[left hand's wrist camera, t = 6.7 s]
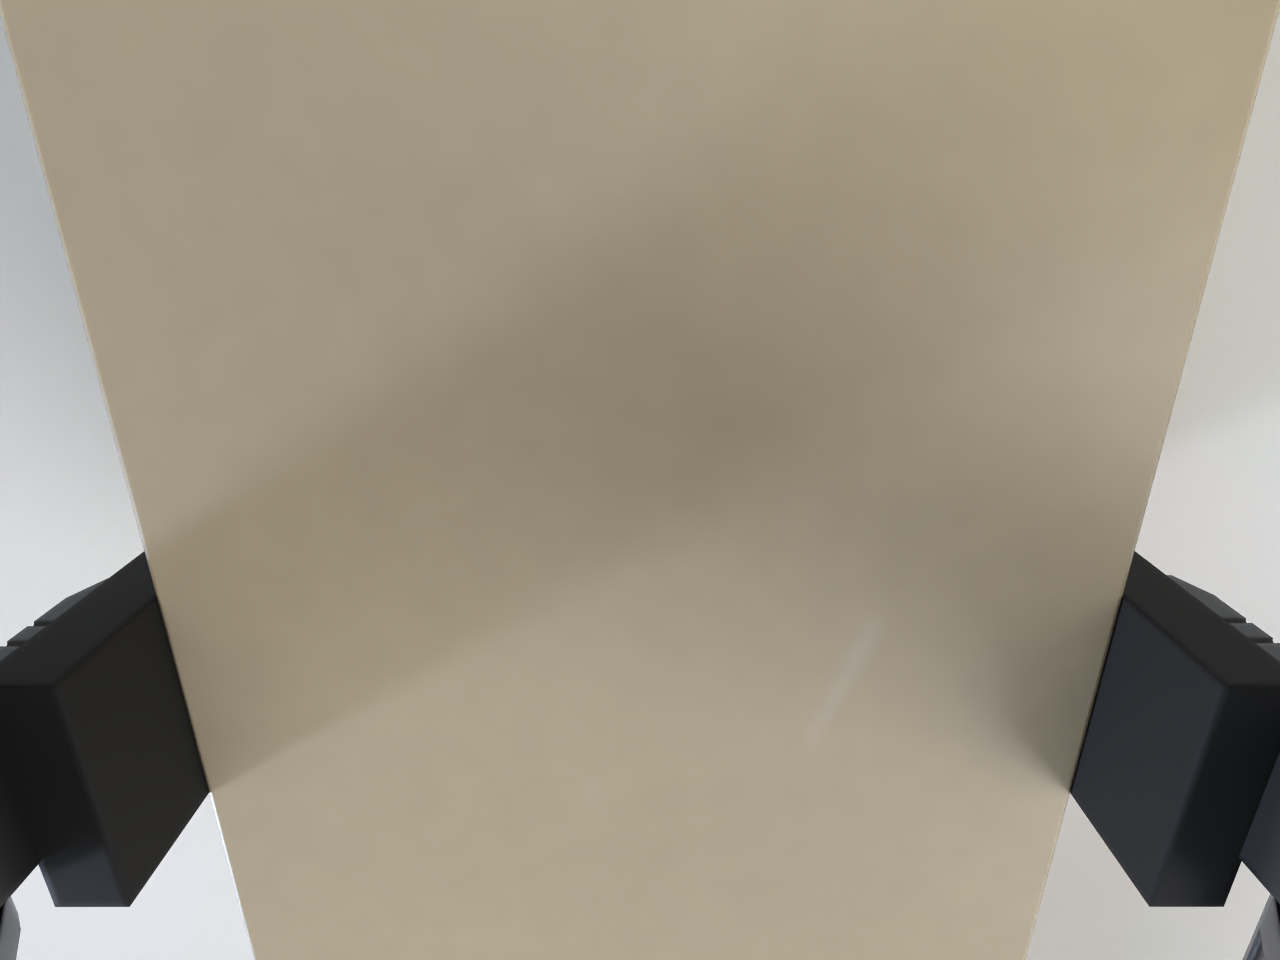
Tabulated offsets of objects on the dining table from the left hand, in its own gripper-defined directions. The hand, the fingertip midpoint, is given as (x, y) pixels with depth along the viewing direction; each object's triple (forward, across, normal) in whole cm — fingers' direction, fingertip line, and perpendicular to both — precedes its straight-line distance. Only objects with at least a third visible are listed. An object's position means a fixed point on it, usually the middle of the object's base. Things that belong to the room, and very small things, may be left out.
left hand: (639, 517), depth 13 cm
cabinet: (+4, 0, -5) cm, 6 cm away
